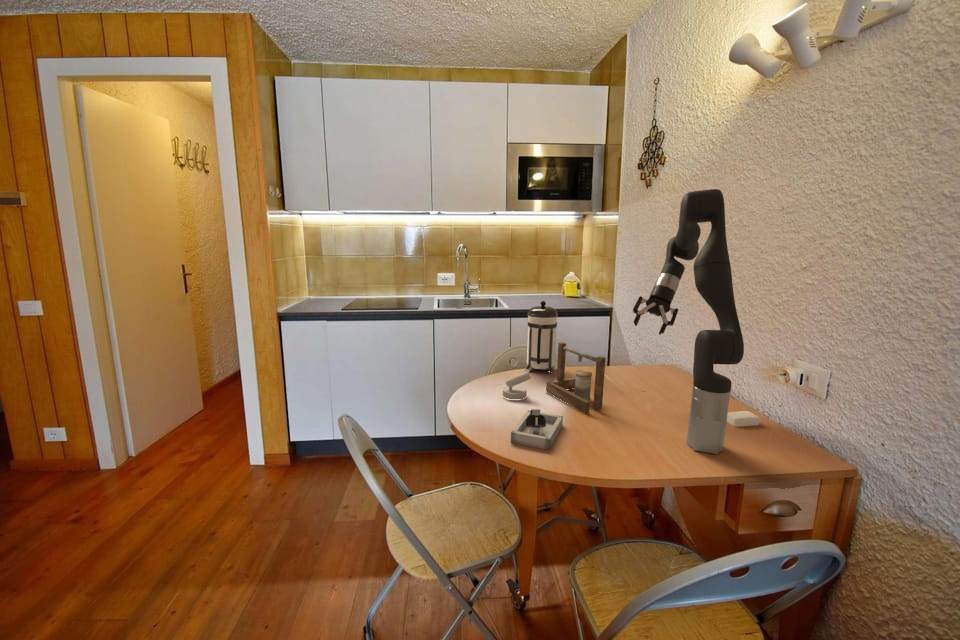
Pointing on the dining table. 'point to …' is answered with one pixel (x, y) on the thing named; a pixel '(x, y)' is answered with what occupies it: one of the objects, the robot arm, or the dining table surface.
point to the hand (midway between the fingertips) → (647, 329)
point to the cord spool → (583, 384)
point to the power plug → (536, 421)
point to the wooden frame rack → (562, 384)
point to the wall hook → (513, 390)
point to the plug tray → (537, 431)
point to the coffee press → (541, 337)
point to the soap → (742, 418)
